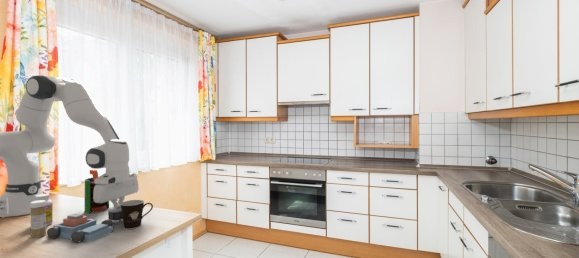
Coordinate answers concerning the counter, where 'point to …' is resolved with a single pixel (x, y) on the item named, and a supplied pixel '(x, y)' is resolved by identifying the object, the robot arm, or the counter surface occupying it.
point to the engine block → (74, 220)
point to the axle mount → (117, 221)
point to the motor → (89, 191)
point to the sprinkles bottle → (38, 218)
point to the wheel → (114, 213)
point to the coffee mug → (133, 213)
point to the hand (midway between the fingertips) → (117, 207)
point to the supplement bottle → (48, 207)
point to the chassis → (81, 230)
